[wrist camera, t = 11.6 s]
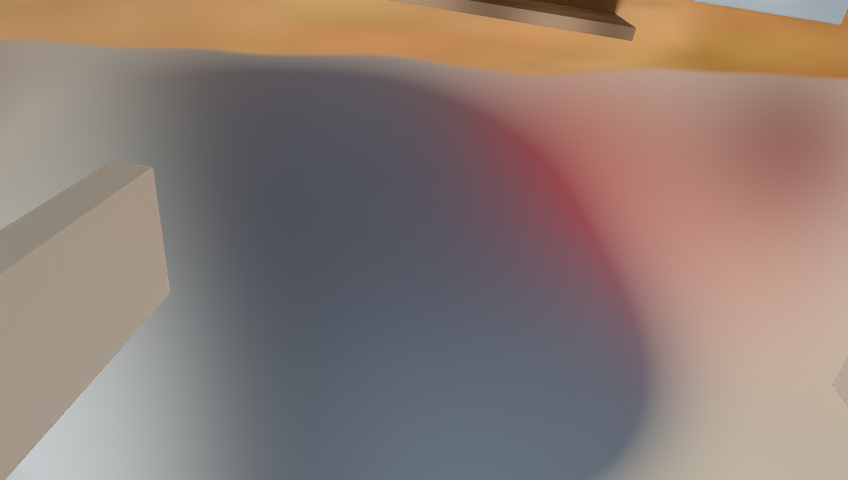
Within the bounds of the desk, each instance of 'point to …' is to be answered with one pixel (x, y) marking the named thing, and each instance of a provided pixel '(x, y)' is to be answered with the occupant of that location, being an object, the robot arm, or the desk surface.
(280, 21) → the desk surface
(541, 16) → the crate
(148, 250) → the robot arm
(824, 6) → the felt pad
